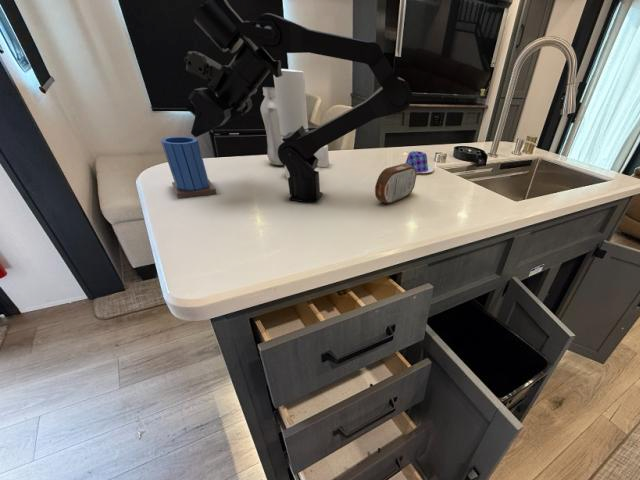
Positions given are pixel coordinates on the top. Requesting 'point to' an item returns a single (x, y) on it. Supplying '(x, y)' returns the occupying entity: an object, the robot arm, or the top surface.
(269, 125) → the plastic bottle
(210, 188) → the stand
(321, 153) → the pepper shaker
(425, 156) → the blue checkered hat
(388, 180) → the tin
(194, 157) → the blue ribbed vase
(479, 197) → the top surface
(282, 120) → the cylindrical container
